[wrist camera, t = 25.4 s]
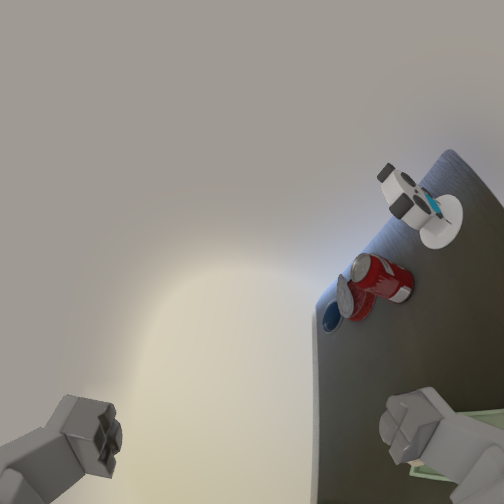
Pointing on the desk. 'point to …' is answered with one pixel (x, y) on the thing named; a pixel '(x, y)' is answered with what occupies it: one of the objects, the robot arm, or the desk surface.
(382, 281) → the soda can
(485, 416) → the tray
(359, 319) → the canned food
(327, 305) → the desk surface
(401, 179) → the panda figurine
